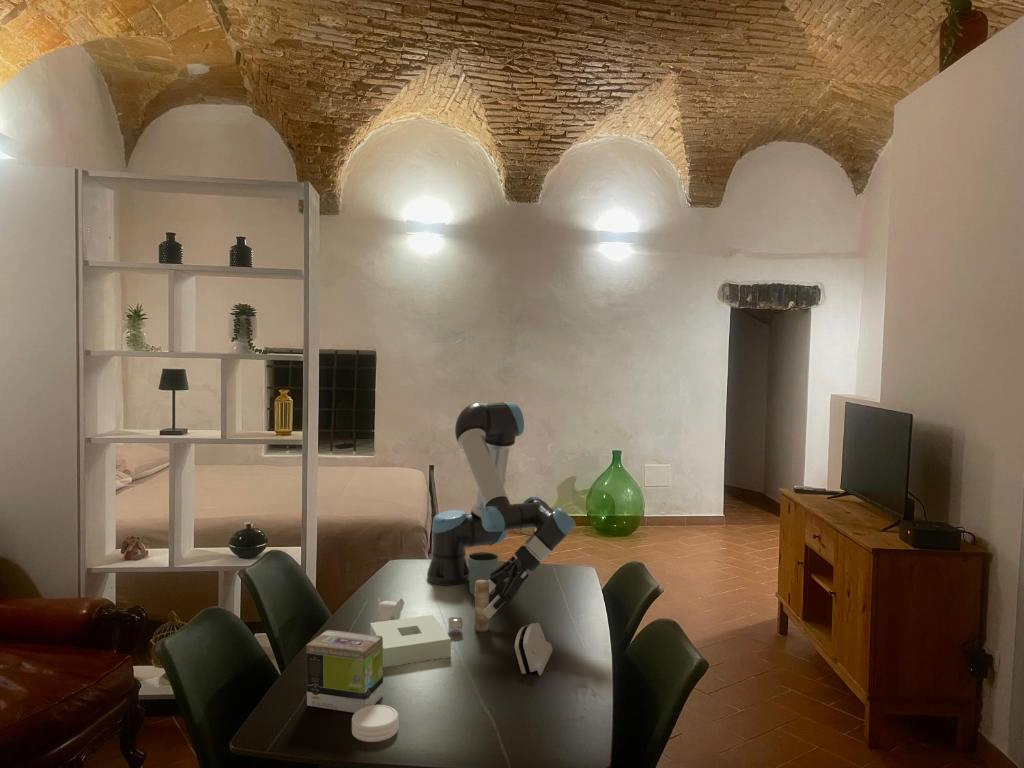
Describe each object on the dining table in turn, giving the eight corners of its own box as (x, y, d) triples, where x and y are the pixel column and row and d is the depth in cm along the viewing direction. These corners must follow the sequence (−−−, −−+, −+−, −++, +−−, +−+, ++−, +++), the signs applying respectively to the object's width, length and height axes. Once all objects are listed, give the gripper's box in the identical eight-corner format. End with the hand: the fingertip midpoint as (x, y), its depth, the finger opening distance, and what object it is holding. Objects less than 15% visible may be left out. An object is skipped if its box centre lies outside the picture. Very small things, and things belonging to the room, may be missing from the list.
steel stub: (446, 631, 214) (446, 617, 214) (459, 629, 215) (460, 616, 215) (450, 636, 210) (450, 622, 210) (464, 634, 212) (464, 621, 211)
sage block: (370, 640, 207) (370, 622, 206) (432, 631, 213) (432, 614, 213) (383, 667, 190) (383, 648, 190) (450, 657, 197) (450, 638, 196)
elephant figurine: (370, 626, 217) (370, 602, 216) (383, 614, 226) (383, 591, 226) (394, 628, 215) (394, 604, 215) (407, 616, 224) (407, 593, 224)
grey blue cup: (463, 594, 244) (463, 558, 243) (473, 584, 254) (474, 550, 253) (492, 598, 241) (492, 562, 240) (501, 588, 251) (502, 553, 250)
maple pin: (472, 627, 217) (473, 580, 216) (485, 625, 218) (486, 579, 217) (477, 632, 213) (477, 585, 212) (490, 630, 215) (490, 583, 214)
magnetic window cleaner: (540, 676, 186) (528, 638, 187) (523, 680, 188) (511, 642, 188) (553, 649, 203) (541, 614, 203) (537, 652, 204) (525, 618, 204)
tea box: (384, 695, 175) (384, 635, 174) (364, 716, 166) (364, 652, 165) (327, 686, 179) (327, 627, 178) (305, 706, 170) (304, 644, 169)
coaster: (401, 718, 165) (401, 703, 165) (395, 743, 155) (395, 727, 155) (356, 719, 165) (356, 703, 165) (347, 743, 155) (347, 727, 155)
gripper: (552, 574, 205) (498, 631, 203) (530, 549, 230) (483, 599, 228) (533, 557, 204) (479, 614, 202) (514, 533, 228) (466, 584, 226)
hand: (481, 606), depth 215 cm, fingers open, 13 cm apart
